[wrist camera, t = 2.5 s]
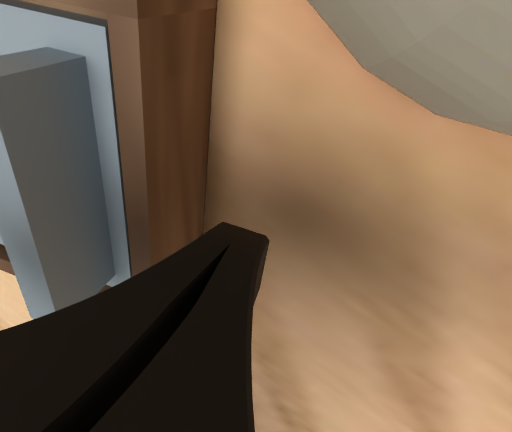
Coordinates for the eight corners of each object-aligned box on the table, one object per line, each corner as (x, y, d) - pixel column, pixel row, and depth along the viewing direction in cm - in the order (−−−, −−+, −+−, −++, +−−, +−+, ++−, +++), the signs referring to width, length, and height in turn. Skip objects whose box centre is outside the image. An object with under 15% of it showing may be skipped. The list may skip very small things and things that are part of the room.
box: (218, -23, 11) (135, -24, 7) (201, 265, 18) (154, 331, 14) (-125, -86, 13) (-299, -107, 10) (-22, 187, 20) (-105, 227, 17)
